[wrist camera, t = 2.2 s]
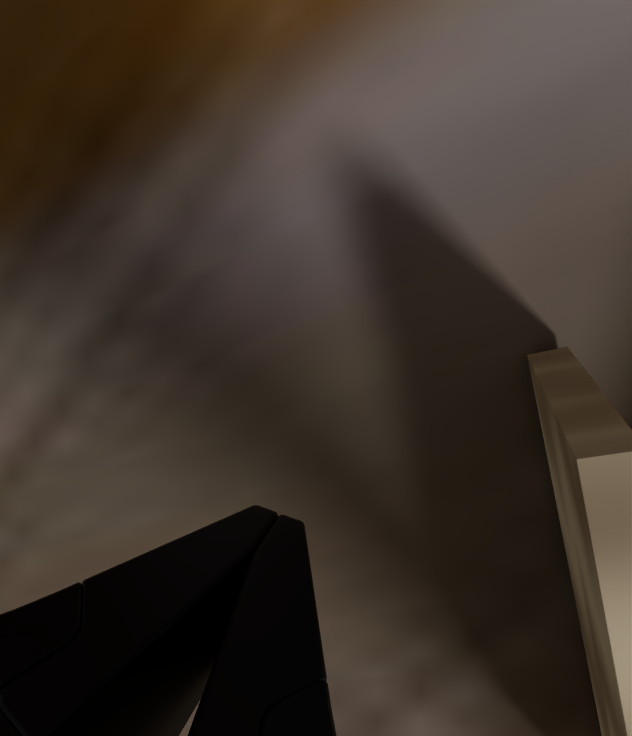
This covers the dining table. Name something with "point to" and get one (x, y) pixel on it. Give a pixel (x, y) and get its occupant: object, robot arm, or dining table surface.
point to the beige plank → (592, 521)
